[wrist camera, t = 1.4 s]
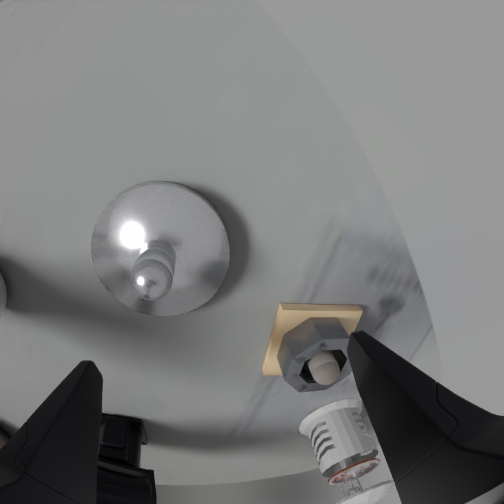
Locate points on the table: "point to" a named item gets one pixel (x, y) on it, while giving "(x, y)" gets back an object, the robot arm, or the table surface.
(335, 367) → the stand
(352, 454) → the french press
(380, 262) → the table surface
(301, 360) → the collar
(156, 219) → the disc
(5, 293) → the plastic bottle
